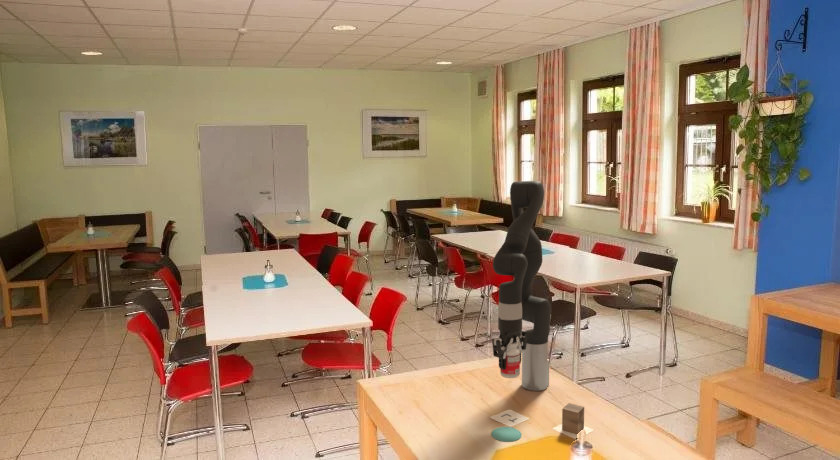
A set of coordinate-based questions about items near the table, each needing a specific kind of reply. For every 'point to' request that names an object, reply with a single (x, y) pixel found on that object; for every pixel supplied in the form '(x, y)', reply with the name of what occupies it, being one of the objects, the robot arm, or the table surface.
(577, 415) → the walnut block
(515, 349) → the pill bottle
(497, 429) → the coaster
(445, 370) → the table surface
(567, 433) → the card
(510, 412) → the card
